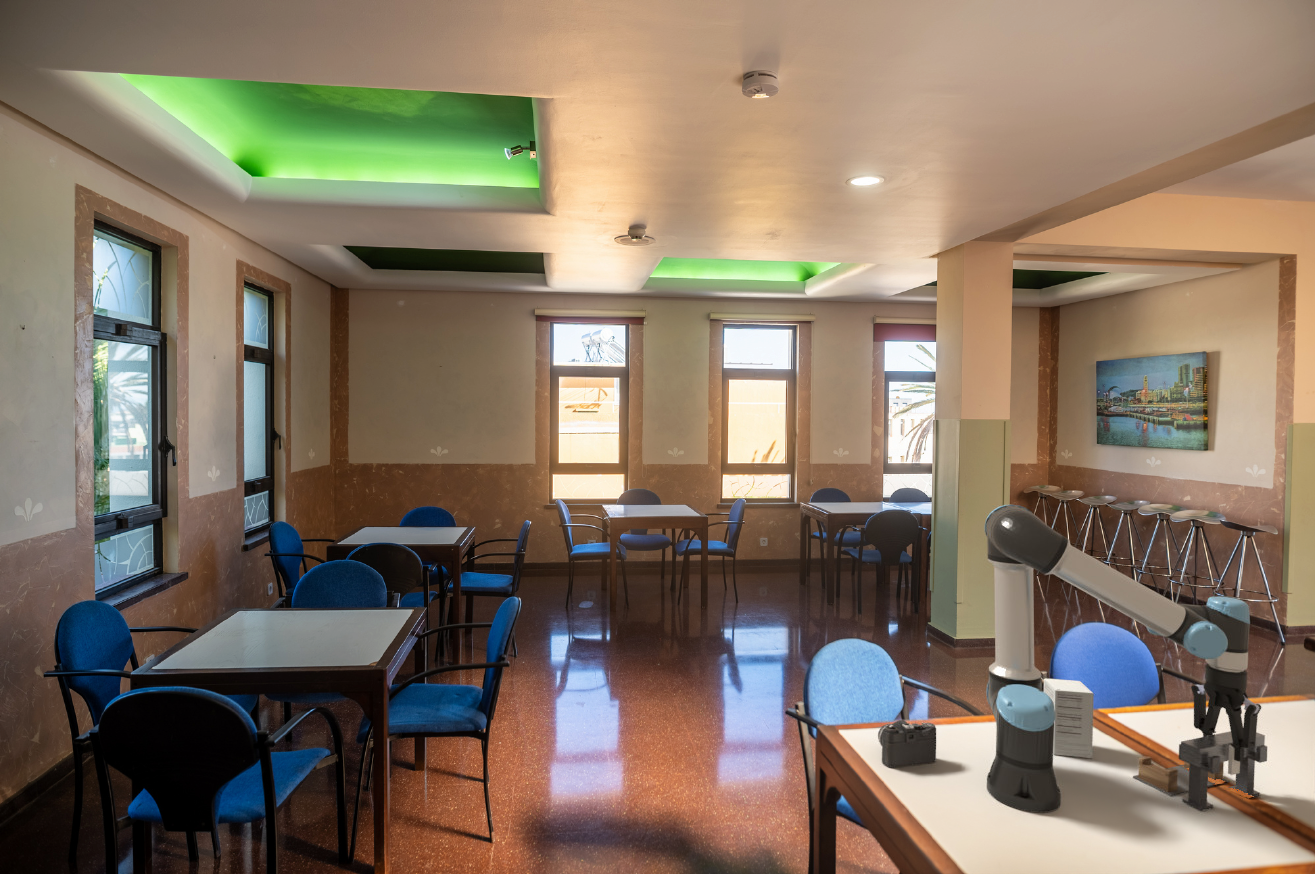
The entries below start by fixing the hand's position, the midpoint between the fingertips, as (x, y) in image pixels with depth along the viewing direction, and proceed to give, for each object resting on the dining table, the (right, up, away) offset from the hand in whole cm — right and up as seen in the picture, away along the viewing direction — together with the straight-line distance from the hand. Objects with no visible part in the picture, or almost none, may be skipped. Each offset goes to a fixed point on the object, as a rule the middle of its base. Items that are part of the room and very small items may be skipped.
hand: (1222, 767), depth 163 cm
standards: (0, -7, 0) cm, 7 cm away
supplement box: (-22, -6, +24) cm, 33 cm away
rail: (0, +3, 0) cm, 3 cm away
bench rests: (-3, -7, +9) cm, 11 cm away
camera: (-67, -6, +19) cm, 69 cm away
